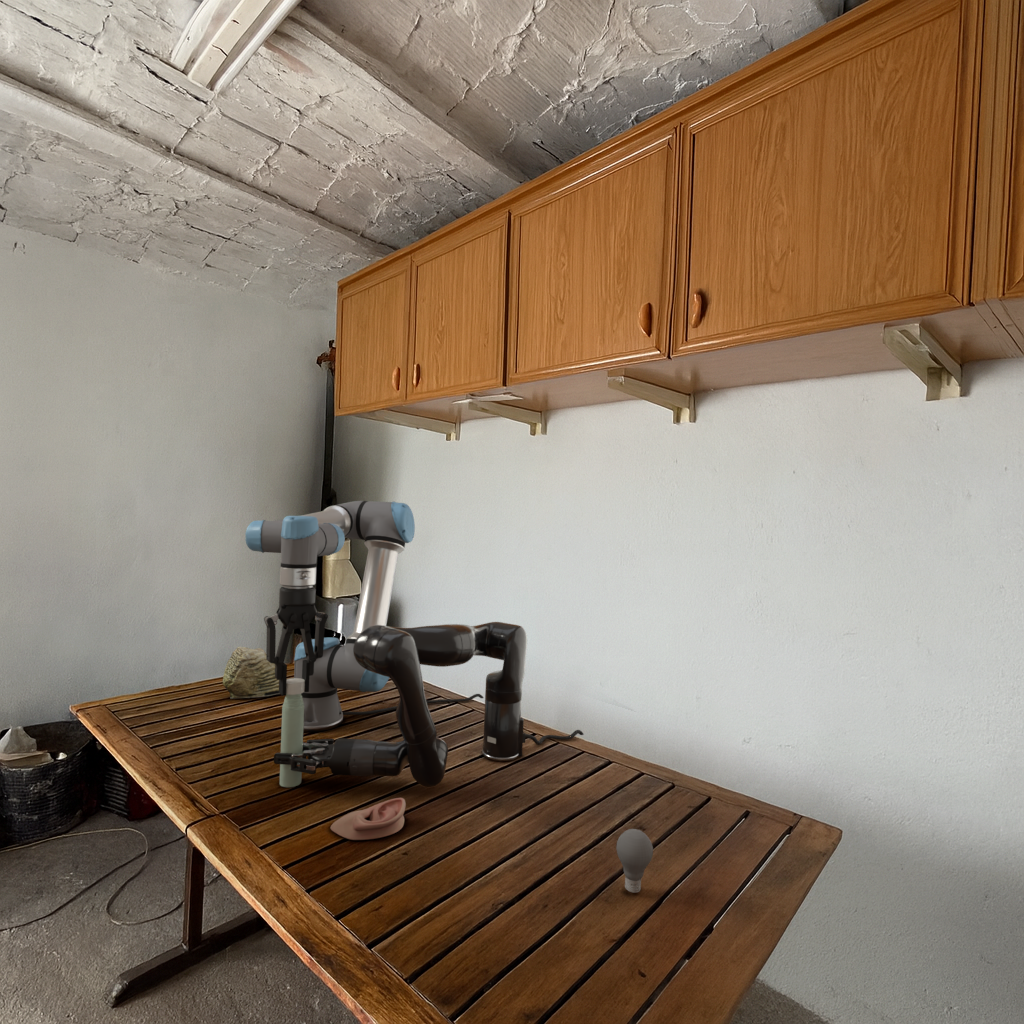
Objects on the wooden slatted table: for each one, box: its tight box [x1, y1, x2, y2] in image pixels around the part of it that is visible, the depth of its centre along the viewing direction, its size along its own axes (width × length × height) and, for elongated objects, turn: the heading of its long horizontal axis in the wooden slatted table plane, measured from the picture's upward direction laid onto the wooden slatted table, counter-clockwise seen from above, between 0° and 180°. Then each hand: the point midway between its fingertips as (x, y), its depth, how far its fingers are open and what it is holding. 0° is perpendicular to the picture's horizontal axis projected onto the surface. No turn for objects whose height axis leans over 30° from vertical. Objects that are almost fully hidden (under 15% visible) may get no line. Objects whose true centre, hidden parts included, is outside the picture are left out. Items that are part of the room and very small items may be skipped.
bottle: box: [279, 694, 304, 788], centre depth 139 cm, size 5×5×22 cm
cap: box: [286, 677, 305, 695], centre depth 139 cm, size 4×4×2 cm
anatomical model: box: [330, 797, 407, 841], centre depth 123 cm, size 13×4×12 cm
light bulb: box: [615, 828, 654, 894], centre depth 106 cm, size 6×6×10 cm
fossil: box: [222, 646, 281, 699], centre depth 198 cm, size 9×18×15 cm, turn 132°
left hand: (293, 691), depth 139 cm, fingers closed on cap, 4 cm apart
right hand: (279, 753), depth 140 cm, fingers closed on bottle, 4 cm apart
